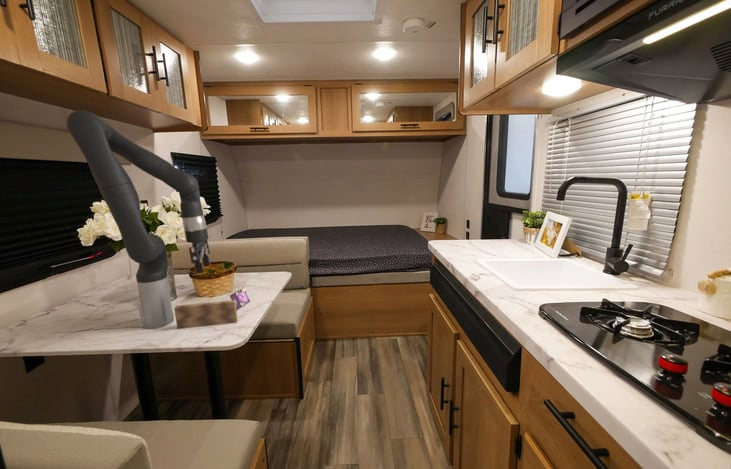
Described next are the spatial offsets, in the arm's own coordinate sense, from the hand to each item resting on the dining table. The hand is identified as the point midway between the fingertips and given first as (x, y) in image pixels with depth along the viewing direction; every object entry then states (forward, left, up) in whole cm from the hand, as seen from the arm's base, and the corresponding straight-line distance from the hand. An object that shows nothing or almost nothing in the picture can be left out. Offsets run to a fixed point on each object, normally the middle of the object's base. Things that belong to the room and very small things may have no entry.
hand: (203, 269), depth 120 cm
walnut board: (+2, -10, -18) cm, 21 cm away
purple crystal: (+10, +5, -18) cm, 22 cm away
